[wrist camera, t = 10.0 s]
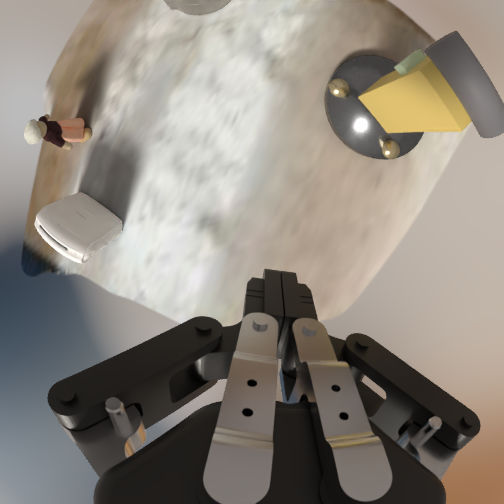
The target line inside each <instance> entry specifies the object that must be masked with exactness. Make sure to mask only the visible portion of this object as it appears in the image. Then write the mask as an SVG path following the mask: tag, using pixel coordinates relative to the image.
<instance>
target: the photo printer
mask: <svg viewBox="0 0 504 504" xmlns="http://www.w3.org/2000/svg"><path fill="white" fill-rule="evenodd" d="M122 223H123V222H122V221H121V220H120V219H119V218H118V217H117V216H116V215H115V214H113V213H112V212H111V211H109V210H108V209H107V208H105V207H104V206H102V205H101V204H100V203H98V202H97V201H95V200H94V199H92V198H91V197H89V196H88V195H86V194H84V193H82V192H79V193H76V194H73V195H71V196H68V197H66V198H63V199H61V200H58V201H56V202H53V203H51V204H48V205H46V206H45V207H43V208H42V209H41V210H40V211H39V213H38V214H37V216H36V221H35V226H36V228H37V230H38V232H39V233H40V235H41V236H42V237H43V238H44V239H45V240H46V242H47V243H49V245H51V246H52V247H53V248H54V249H55V250H57V251H58V252H60V253H61V254H62V255H64V256H66V257H67V258H69V259H71V260H73V261H75V262H78V263H82V264H83V263H85V262H87V261H88V260H89V259H90V258H91V257H93V256H94V255H95V254H96V253H98V252H99V251H100V250H102V249H103V248H104V247H105V246H107V245H108V244H109V243H111V242H112V241H113V240H114V239H115V238H116V237H118V236H119V235H120V234H121V232H122V229H123V224H122Z"/></svg>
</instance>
